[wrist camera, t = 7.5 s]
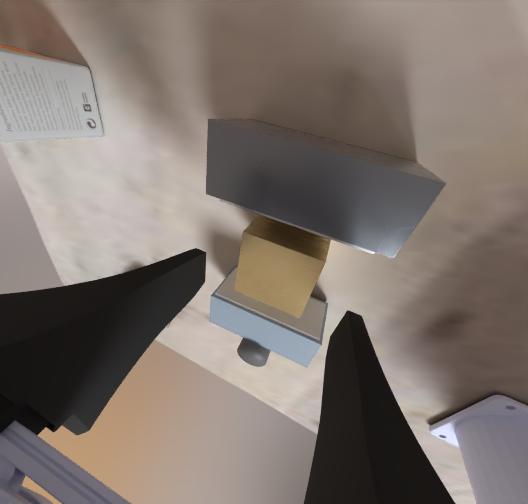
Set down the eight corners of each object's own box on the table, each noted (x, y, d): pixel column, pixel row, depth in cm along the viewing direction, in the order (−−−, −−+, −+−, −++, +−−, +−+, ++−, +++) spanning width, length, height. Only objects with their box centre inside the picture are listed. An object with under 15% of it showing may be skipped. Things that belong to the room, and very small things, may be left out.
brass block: (335, 219, 13) (325, 262, 9) (314, 267, 16) (299, 318, 12) (275, 199, 14) (242, 231, 10) (264, 248, 16) (234, 290, 12)
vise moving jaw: (328, 301, 16) (321, 348, 13) (306, 341, 20) (296, 387, 16) (235, 263, 18) (207, 297, 14) (229, 306, 21) (205, 342, 18)
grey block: (417, 162, 10) (446, 183, 7) (381, 223, 12) (391, 262, 9) (249, 118, 12) (207, 119, 9) (242, 178, 14) (206, 197, 11)
